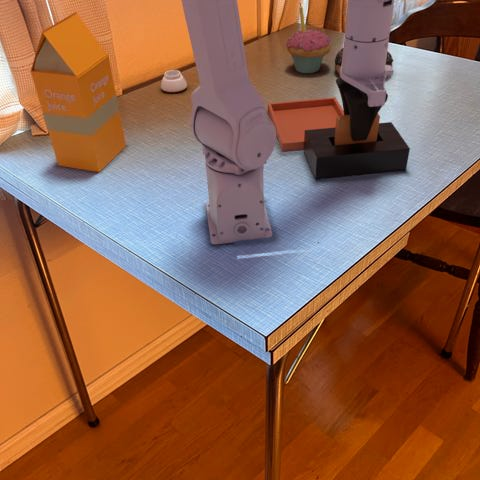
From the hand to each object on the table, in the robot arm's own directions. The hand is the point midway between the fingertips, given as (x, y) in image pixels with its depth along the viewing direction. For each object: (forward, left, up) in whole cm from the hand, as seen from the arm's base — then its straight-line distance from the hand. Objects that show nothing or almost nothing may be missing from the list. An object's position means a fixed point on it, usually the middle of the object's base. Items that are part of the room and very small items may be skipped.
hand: (356, 134), depth 82 cm
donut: (+34, -11, -5) cm, 37 cm away
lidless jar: (+34, +26, -5) cm, 43 cm away
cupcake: (+38, -1, -5) cm, 39 cm away
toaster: (0, 0, -5) cm, 5 cm away
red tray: (+12, +4, -5) cm, 14 cm away
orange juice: (+10, +40, -5) cm, 42 cm away
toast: (0, 0, -4) cm, 4 cm away
